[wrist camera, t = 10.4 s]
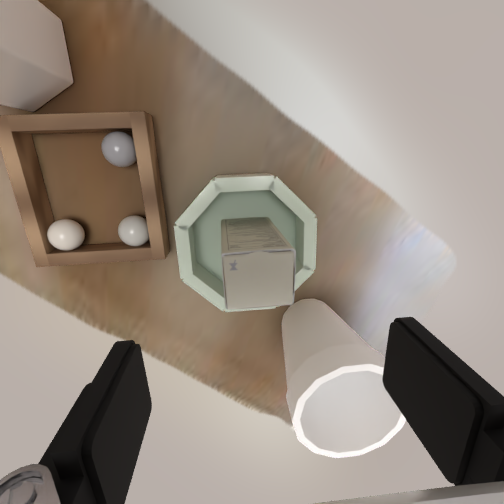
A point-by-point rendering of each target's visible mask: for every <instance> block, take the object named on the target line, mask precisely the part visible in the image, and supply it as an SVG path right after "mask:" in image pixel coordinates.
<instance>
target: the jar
mask: <svg viewBox="0 0 504 504" xmlns="http://www.w3.org/2000/svg"><path fill="white" fill-rule="evenodd" d="M72 84H73V77H72V72H71V67H70V62H69V56H68V51H67V46H66V41H65V36H64V31H63V26H62V21H61V19H60V18H59V17H57V16H56V15H55V14H54V13H53V12H51V11H50V10H49V9H48V8H47V7H45V6H44V5H43V4H42V3H40V2H39V1H38V0H0V105H4V106H8V107H12V108H17V109H21V110H25V111H30V112H34V111H36V110H37V109H38V108H40V107H41V106H43V105H44V104H45V103H47V102H48V101H49V100H51V99H52V98H54V97H55V96H56V95H58V94H59V93H61V92H62V91H63V90H65V89H66V88H67V87H69V86H70V85H72Z"/></svg>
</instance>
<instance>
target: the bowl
mask: <svg viewBox="0 0 504 504" xmlns="http://www.w3.org/2000/svg"><path fill="white" fill-rule="evenodd" d="M315 216H316V215H315V214H314V213H313V212H312V211H311V210H310V209H309V208H308V207H307V206H306V205H305V204H304V203H303V202H302V201H301V200H300V199H299V198H298V197H297V196H296V195H295V194H294V193H293V192H292V191H291V190H290V189H289V188H288V187H287V186H286V185H285V184H284V183H283V182H282V181H281V180H280V179H279V178H278V177H277V176H274V175H272V174H269V173H257V174H234V175H216V177H213V178H212V179H211V181H210V182H209V183H208V184H207V185H206V186H205V188H204V189H203V190H202V191H201V192H200V193H199V195H198V196H197V197H196V198H195V199H194V200H193V202H192V203H191V204H190V205H189V206H188V207H187V209H186V210H185V211H184V212H183V213H182V214H181V216H180V217H179V218H178V219H177V221H176V222H175V225H174V232H175V240H176V248H177V256H178V263H179V271H180V279H182V281H183V282H184V283H185V284H187V285H188V286H189V287H191V288H192V289H193V290H195V291H196V292H197V293H199V294H200V295H201V296H203V297H204V298H205V299H207V300H208V301H209V302H211V303H212V304H213V305H215V306H216V307H217V308H219V309H220V310H221V311H224V310H225V312H234V311H247V310H260V309H273V308H276V306H272V307H262V308H249V309H232V310H228V309H226V306H225V297H224V288H223V276H222V259H221V220H222V219H233V218H249V217H268V218H269V219H270V220H271V221H272V222H273V224H274V225H275V226H276V227H277V229H278V230H279V231H280V232H281V233H282V235H283V236H284V237H285V238H286V240H287V241H288V242H289V243H290V244H291V246H292V247H293V248H294V249H295V250H296V273H295V290H296V289H297V288H298V287H299V286H300V285H301V284H302V283H303V282H304V281H305V280H307V279H308V278H309V277H310V276H311V275H312V274H313V273H314V271H313V270H315V267H316V240H317V217H315ZM277 307H279V306H277Z"/></svg>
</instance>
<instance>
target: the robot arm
mask: <svg viewBox="0 0 504 504" xmlns="http://www.w3.org/2000/svg"><path fill="white" fill-rule="evenodd" d="M382 380H383V385H384V387H385V389H386V391H387V392H388V394H389V395H390V397H391V398H392V400H393V401H394V403H395V404H396V405H397V407H398V408H399V410H400V411H401V413H402V414H403V416H404V417H405V419H406V420H407V422H408V423H409V425H410V426H411V428H412V429H413V431H414V432H415V434H416V435H417V437H418V438H419V439H420V441H421V442H422V444H423V445H424V447H425V448H426V450H427V451H428V453H429V454H430V455H431V457H432V459H433V460H434V462H435V463H436V465H437V466H438V468H439V469H440V470H441V472H442V473H443V475H444V476H445V478H446V479H447V480H448V481H449V482H450V483H454V484H455V486H452V487H444V488H435V489H427V490H419V491H411V492H403V493H395V494H387V495H379V496H370V497H363V498H355V499H347V500H339V501H331V502H323V503H315V504H504V397H503V396H502V395H501V394H500V393H499V392H498V391H497V390H495V389H494V388H493V387H492V386H491V385H490V384H489V383H488V382H486V381H485V380H484V379H483V378H482V377H481V376H480V375H478V374H477V373H476V372H475V371H474V370H473V369H472V368H470V367H469V366H468V365H467V364H466V363H465V362H464V361H462V360H461V359H460V358H459V357H458V356H457V355H456V354H454V353H453V352H452V351H451V350H450V349H449V348H448V347H446V346H445V345H444V344H443V343H442V342H441V341H440V340H438V339H437V338H436V337H435V336H434V335H433V334H432V333H430V332H429V331H428V330H427V329H426V328H425V327H424V326H422V325H421V324H420V323H419V322H418V321H417V320H416V319H414V318H413V317H404V318H396V319H395V320H394V322H392V323H391V324H390V329H389V336H388V343H387V350H386V357H385V364H384V371H383V377H382ZM151 404H152V403H151V397H150V392H149V387H148V382H147V377H146V372H145V367H144V362H143V358H142V352H141V347H140V345H139V344H135V342H134V341H133V340H129V341H117V342H116V343H115V344H114V345H113V347H112V349H111V350H110V352H109V354H108V356H107V357H106V359H105V361H104V362H103V364H102V366H101V368H100V369H99V371H98V373H97V375H96V376H95V378H94V379H93V381H92V383H89V384H87V385H86V386H85V388H84V389H83V390H82V392H81V394H80V395H79V397H78V399H77V400H76V402H75V404H74V406H73V407H72V409H71V410H70V412H69V414H68V415H67V417H66V419H65V420H64V422H63V424H62V425H61V427H60V429H59V430H58V432H57V434H56V435H55V437H54V439H53V440H52V442H51V444H50V445H49V447H48V449H47V450H46V452H45V453H44V455H43V457H42V459H41V460H40V462H39V463H38V464H32V465H28V466H25V467H21V468H19V469H17V470H15V471H13V472H11V473H9V474H8V475H6V476H5V477H4V478H2V479H1V480H0V504H124V503H125V500H126V496H127V493H128V489H129V486H130V482H131V479H132V476H133V472H134V469H135V465H136V461H137V458H138V455H139V451H140V448H141V444H142V441H143V437H144V434H145V431H146V427H147V423H148V420H149V417H150V413H151V406H152V405H151Z"/></svg>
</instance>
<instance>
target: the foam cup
mask: <svg viewBox="0 0 504 504" xmlns="http://www.w3.org/2000/svg"><path fill="white" fill-rule="evenodd" d="M281 325H282V327H281V328H282V338H283V348H284V358H285V368H286V378H287V389H288V391H287V394H286V399H287V403H288V407H289V411H290V415H291V419H292V423H293V426H294V429H295V432H296V435H297V438H298V440H299V441H300V442H301V443H302V444H304V445H305V446H306V447H307V448H308V449H310V450H311V451H312V452H313V453H316V454H320V455H325V456H329V457H333V458H342V457H350V456H358V455H363V454H365V453H367V452H369V451H371V450H373V449H376V448H378V447H380V446H382V445H384V444H386V443H387V442H388V441H389V440H390V439H391V438H392V437H393V436H394V435H395V434H396V433H397V432H398V431H399V430H400V429H401V428H402V427H403V425H404V423H405V421H406V419H405V417H404V416H403V414H402V413H401V411H400V410H399V408H398V407H397V405H396V404H395V403H394V401H393V400H392V398H391V397H390V395H389V394H388V392H387V391H386V389H385V387H384V385H383V380H382V377H383V371H384V364H385V357H384V356H383V355H382V354H381V353H380V352H379V351H378V350H375V349H373V348H372V347H371V346H370V345H369V344H368V343H367V342H366V341H364V340H363V339H362V338H361V337H360V336H359V335H358V334H357V333H356V332H355V331H354V330H353V329H352V328H351V327H350V326H349V325H348V324H347V323H346V322H345V321H344V320H342V319H341V318H340V317H339V316H338V315H337V314H336V313H335V312H334V311H333V310H332V309H331V308H330V307H329V306H328V305H327V304H325V303H324V302H323V301H320V300H317V299H314V298H311V299H301V300H299V301H298V302H296V303H294V304H292V305H291V306H290V307H289V308H288V309H287V310H286V312H285V313H284V315H283V319H282V323H281Z"/></svg>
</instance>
